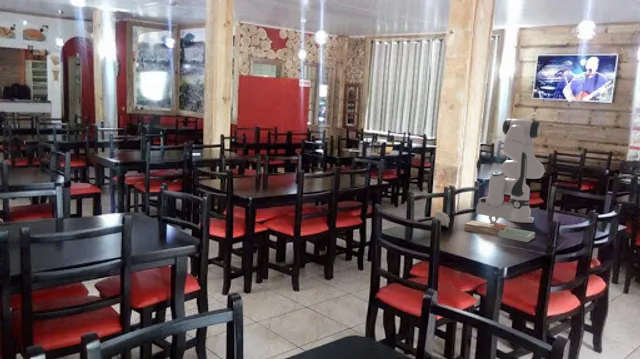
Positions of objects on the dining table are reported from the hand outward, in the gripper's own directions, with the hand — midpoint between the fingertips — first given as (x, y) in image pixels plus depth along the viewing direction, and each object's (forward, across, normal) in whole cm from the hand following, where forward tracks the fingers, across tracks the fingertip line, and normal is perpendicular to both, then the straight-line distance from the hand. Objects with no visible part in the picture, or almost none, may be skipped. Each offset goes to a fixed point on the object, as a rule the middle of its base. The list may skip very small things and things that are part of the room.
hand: (493, 224), depth 315 cm
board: (+5, +4, 0) cm, 7 cm away
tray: (+5, -14, 0) cm, 15 cm away
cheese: (+6, +27, +17) cm, 33 cm away
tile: (+1, -4, 0) cm, 5 cm away
